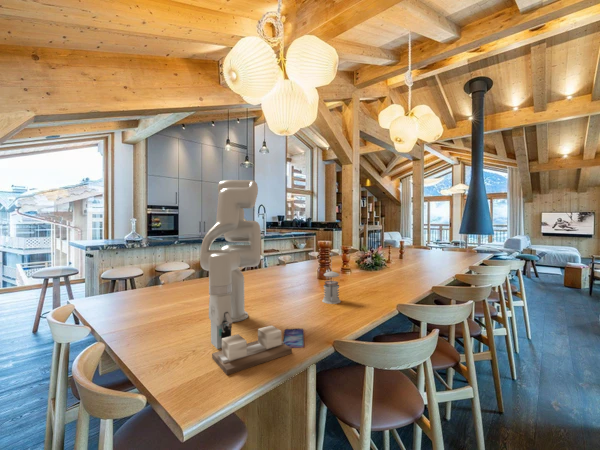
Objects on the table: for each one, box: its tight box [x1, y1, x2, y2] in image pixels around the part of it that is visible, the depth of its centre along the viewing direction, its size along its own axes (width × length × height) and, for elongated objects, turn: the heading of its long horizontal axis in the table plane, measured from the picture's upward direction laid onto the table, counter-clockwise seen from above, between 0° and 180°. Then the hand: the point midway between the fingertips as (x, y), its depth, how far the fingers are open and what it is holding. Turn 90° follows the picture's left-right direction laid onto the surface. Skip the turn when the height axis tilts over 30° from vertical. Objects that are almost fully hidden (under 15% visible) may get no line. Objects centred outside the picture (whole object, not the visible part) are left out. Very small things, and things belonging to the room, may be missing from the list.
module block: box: [210, 320, 227, 350], centre depth 102 cm, size 6×5×8 cm
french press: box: [321, 252, 341, 305], centre depth 151 cm, size 10×12×25 cm
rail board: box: [211, 324, 293, 376], centre depth 94 cm, size 12×22×7 cm, turn 126°
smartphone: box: [282, 328, 305, 349], centre depth 107 cm, size 7×1×15 cm
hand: (220, 338), depth 102 cm, fingers open, 9 cm apart
